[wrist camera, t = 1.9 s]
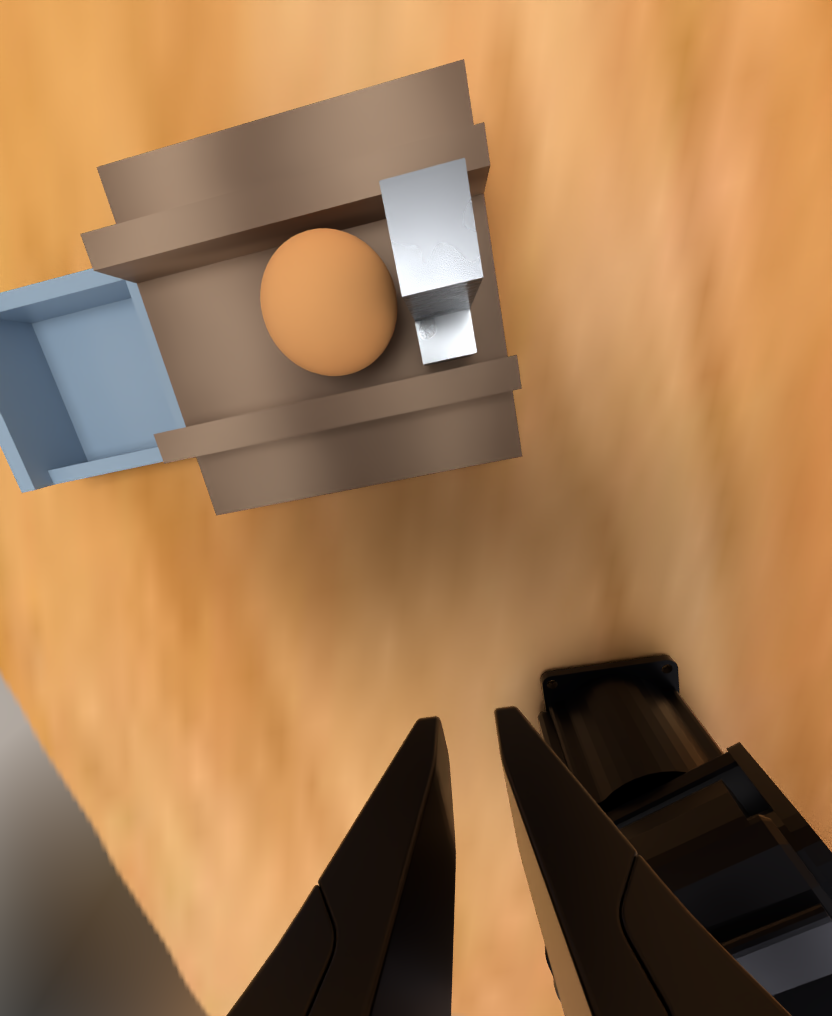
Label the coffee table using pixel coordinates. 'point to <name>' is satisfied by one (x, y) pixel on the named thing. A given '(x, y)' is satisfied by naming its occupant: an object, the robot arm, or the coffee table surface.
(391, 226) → the gray stepped block
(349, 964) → the robot arm
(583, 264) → the coffee table surface
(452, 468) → the brown stepped block
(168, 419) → the light blue square tray
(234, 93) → the coffee table surface
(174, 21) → the coffee table surface
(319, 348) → the ball
